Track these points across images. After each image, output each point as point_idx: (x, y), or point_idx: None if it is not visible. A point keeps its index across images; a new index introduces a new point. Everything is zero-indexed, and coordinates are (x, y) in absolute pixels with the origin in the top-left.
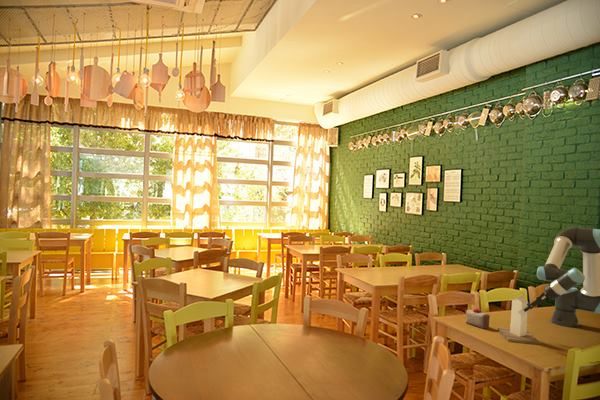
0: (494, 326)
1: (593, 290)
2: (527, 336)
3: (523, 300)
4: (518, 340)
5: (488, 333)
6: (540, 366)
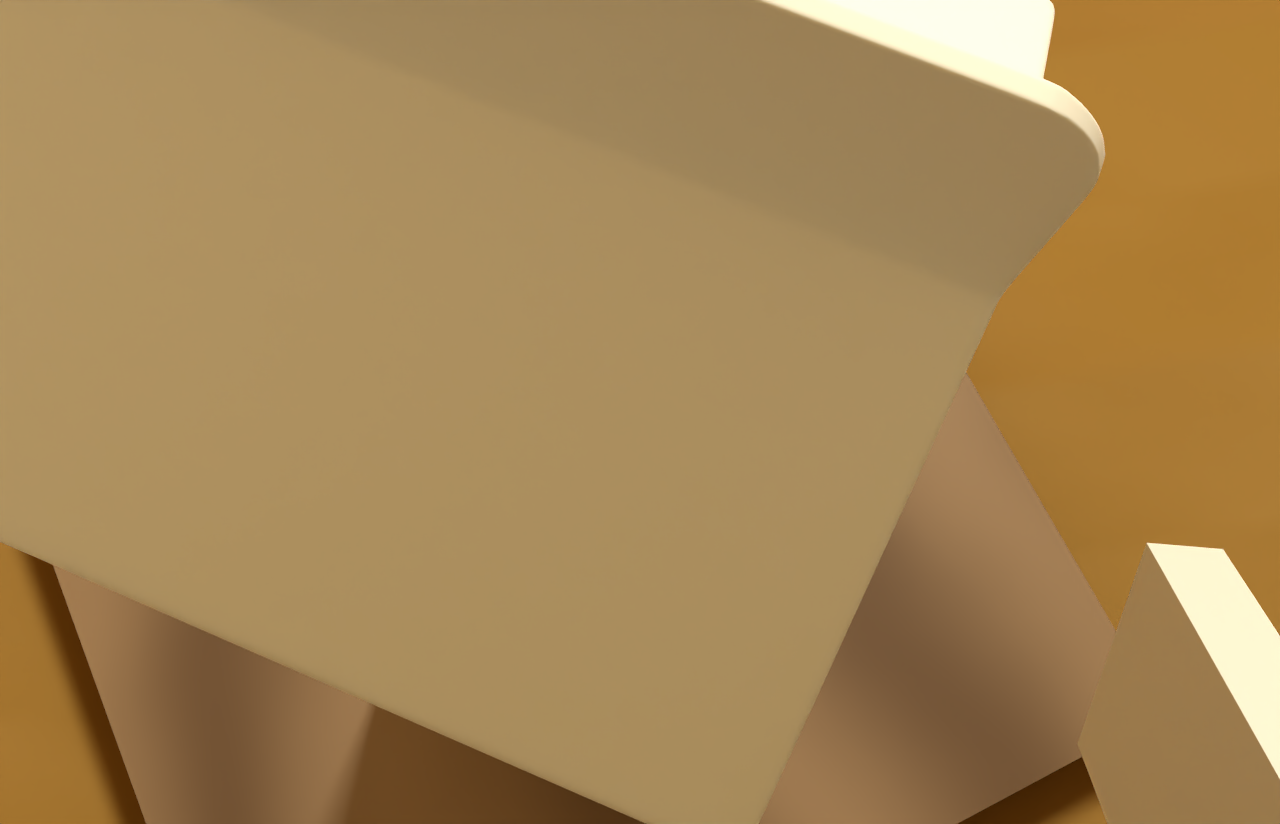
0: (1063, 29)
1: None
2: (567, 815)
3: (387, 449)
4: (98, 669)
5: None
6: None
